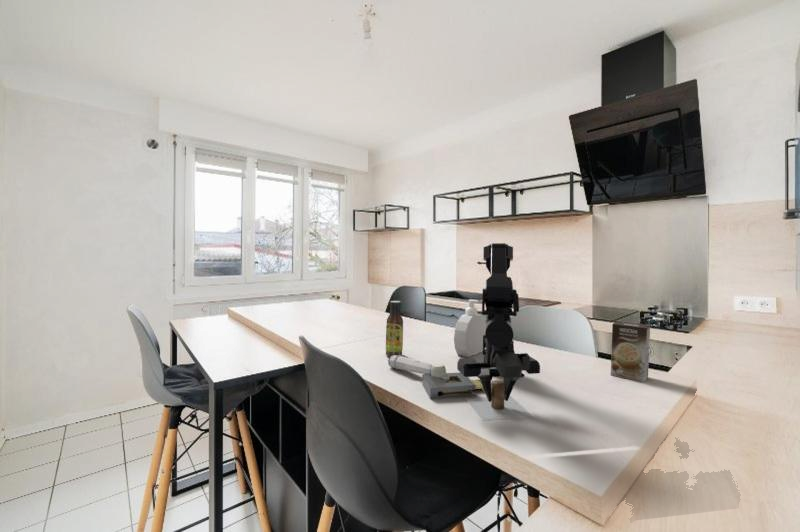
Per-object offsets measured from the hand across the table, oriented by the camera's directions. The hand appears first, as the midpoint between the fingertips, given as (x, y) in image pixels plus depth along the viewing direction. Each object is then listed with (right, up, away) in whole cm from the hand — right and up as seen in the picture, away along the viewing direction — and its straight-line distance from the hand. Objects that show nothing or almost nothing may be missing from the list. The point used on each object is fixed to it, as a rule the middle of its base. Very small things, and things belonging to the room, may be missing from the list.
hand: (497, 400), depth 86 cm
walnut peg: (0, -2, 0) cm, 2 cm away
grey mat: (0, -2, 0) cm, 2 cm away
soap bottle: (+3, 0, +48) cm, 48 cm away
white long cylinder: (-18, -1, +22) cm, 29 cm away
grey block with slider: (-8, -2, +11) cm, 14 cm away
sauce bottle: (-26, 0, +45) cm, 52 cm away
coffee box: (+46, -1, +23) cm, 52 cm away
